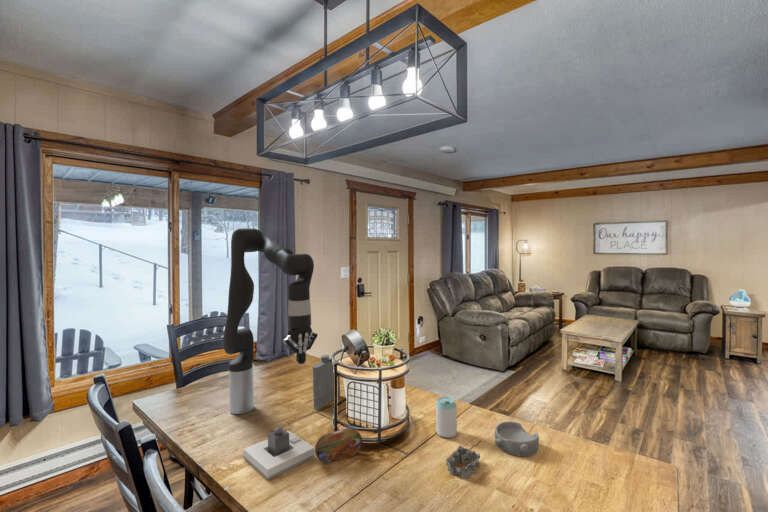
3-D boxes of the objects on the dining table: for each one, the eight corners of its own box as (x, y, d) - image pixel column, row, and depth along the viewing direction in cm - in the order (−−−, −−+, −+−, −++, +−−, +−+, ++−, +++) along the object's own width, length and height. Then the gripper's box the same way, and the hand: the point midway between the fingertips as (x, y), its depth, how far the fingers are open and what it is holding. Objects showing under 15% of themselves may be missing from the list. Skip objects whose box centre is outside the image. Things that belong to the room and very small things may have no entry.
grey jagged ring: (467, 482, 105) (467, 468, 105) (443, 472, 110) (443, 459, 109) (482, 463, 114) (482, 450, 113) (460, 455, 118) (459, 443, 118)
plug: (268, 455, 119) (267, 428, 119) (282, 449, 122) (281, 423, 122) (275, 461, 116) (274, 433, 115) (289, 454, 119) (288, 428, 119)
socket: (243, 458, 119) (243, 447, 119) (288, 438, 130) (288, 428, 130) (267, 480, 108) (267, 467, 108) (314, 456, 119) (314, 445, 119)
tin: (317, 467, 113) (316, 440, 113) (314, 462, 116) (313, 435, 116) (362, 453, 120) (362, 427, 120) (358, 449, 123) (358, 423, 123)
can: (460, 433, 131) (460, 399, 131) (449, 441, 126) (449, 406, 126) (443, 426, 136) (443, 394, 136) (432, 434, 131) (431, 400, 131)
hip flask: (318, 410, 152) (316, 361, 151) (310, 408, 154) (308, 360, 153) (341, 396, 166) (340, 351, 165) (334, 394, 168) (333, 350, 167)
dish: (506, 431, 133) (506, 417, 132) (546, 445, 123) (546, 430, 122) (485, 447, 122) (485, 432, 122) (526, 464, 113) (526, 448, 112)
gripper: (310, 308, 135) (311, 356, 135) (276, 314, 125) (278, 365, 126) (322, 311, 129) (323, 361, 130) (287, 317, 120) (289, 370, 121)
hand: (301, 363), depth 128 cm, fingers closed
